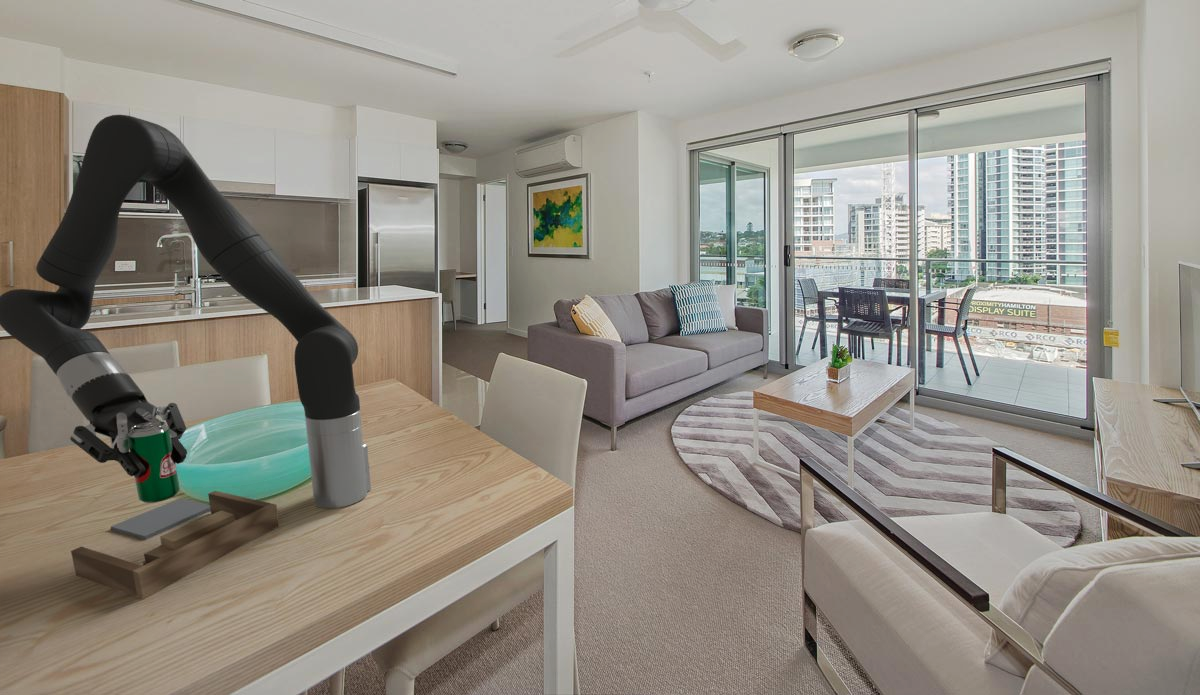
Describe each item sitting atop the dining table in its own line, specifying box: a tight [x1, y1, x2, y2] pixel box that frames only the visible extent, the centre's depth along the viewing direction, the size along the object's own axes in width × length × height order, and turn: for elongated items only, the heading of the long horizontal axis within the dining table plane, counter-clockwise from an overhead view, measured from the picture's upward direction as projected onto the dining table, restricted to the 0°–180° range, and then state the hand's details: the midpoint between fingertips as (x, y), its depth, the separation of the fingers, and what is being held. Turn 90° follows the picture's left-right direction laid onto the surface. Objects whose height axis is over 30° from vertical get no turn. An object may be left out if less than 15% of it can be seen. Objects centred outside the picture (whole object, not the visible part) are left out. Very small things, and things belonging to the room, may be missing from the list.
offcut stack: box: [142, 510, 236, 566], centre depth 81 cm, size 12×5×4 cm, turn 160°
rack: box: [70, 490, 280, 600], centre depth 82 cm, size 20×15×4 cm
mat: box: [110, 497, 211, 540], centre depth 92 cm, size 11×9×1 cm
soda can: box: [127, 420, 181, 504], centre depth 82 cm, size 5×5×12 cm
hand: (162, 466), depth 81 cm, fingers closed on soda can, 5 cm apart
